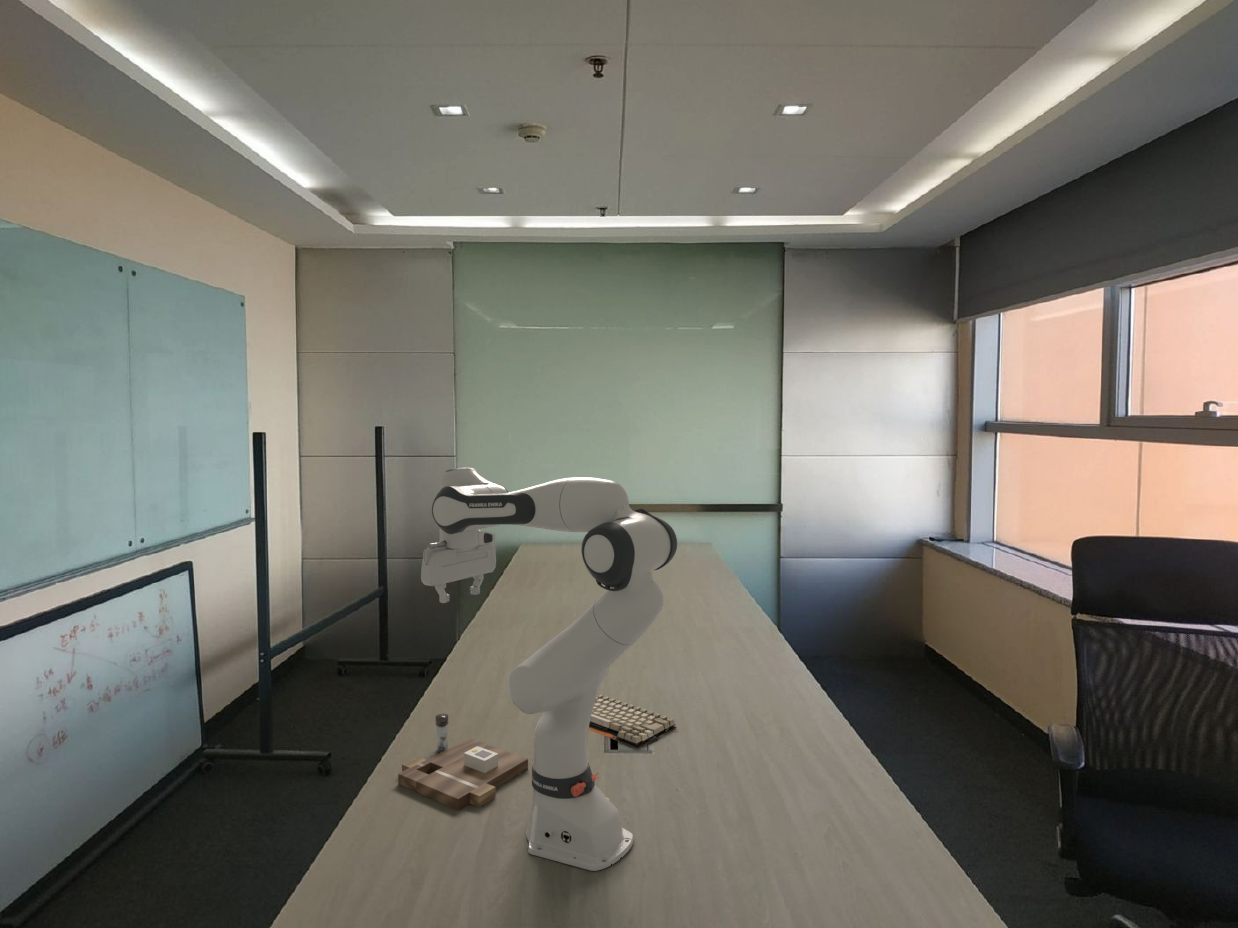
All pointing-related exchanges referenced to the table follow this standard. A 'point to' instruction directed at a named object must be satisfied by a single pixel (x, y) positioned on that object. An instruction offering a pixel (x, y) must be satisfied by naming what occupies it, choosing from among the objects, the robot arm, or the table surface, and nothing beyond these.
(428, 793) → the board
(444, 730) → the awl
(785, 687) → the table surface
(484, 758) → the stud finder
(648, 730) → the mechanical keyboard
